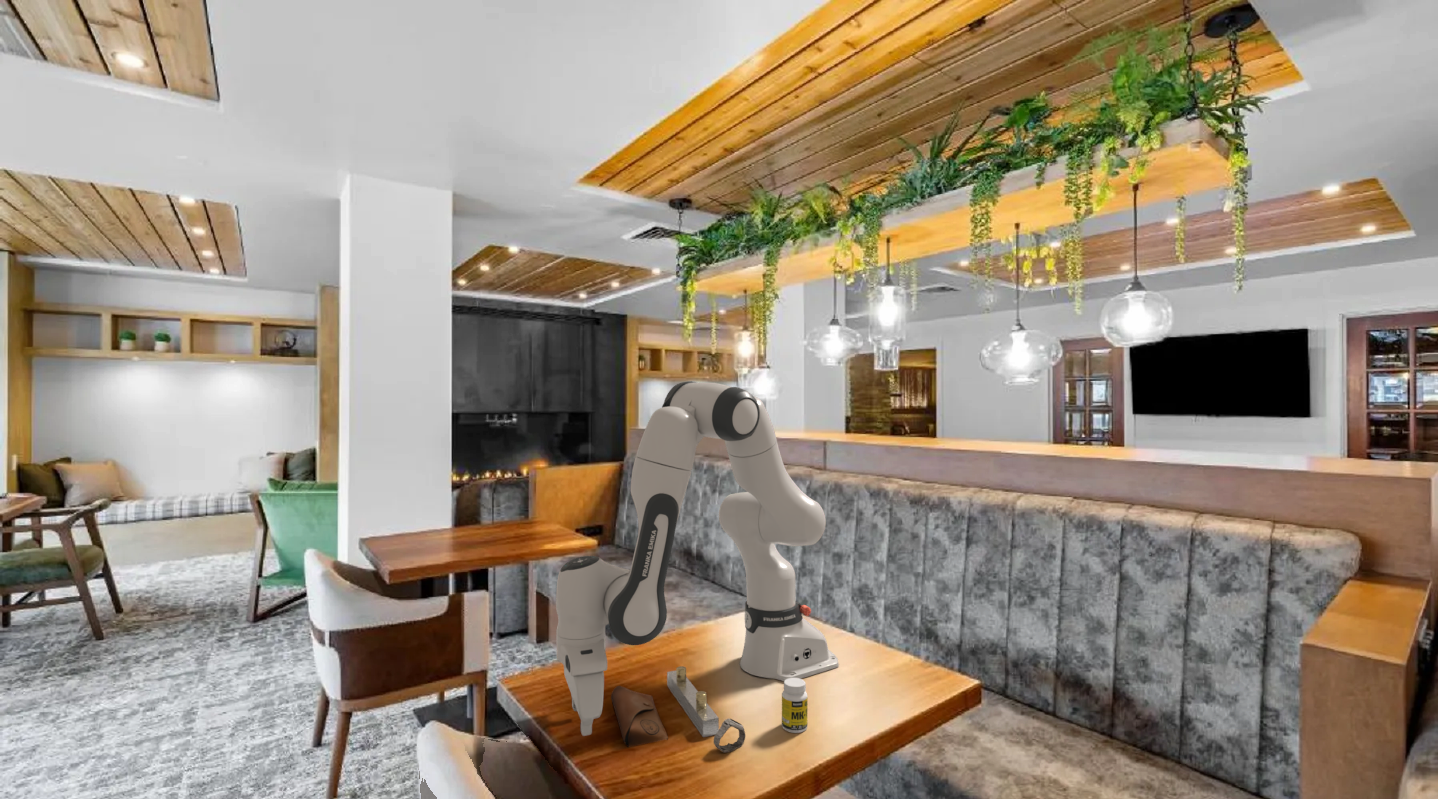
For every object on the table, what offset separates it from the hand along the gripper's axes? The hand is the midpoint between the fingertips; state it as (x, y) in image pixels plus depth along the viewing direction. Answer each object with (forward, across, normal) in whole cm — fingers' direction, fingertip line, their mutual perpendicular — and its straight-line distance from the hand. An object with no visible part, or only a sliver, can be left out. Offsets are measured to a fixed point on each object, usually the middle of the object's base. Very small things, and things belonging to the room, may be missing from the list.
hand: (581, 720), depth 119 cm
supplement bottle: (+2, +14, +37) cm, 40 cm away
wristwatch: (+2, +16, +23) cm, 28 cm away
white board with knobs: (+2, 0, +21) cm, 21 cm away
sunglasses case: (+2, 0, +11) cm, 11 cm away
